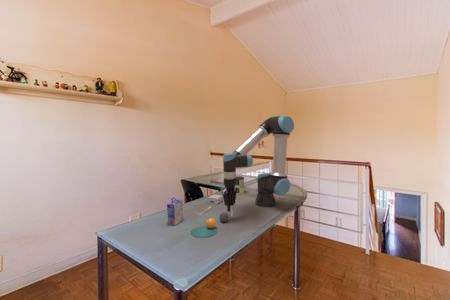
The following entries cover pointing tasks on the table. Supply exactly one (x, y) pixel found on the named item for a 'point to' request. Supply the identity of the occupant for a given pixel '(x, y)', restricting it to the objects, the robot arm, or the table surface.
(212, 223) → the object ball
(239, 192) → the coffee can
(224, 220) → the dark grey ball
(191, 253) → the table surface
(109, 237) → the table surface
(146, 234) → the table surface
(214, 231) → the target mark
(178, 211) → the ink cartridge box
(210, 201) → the charger
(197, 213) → the crossbow
